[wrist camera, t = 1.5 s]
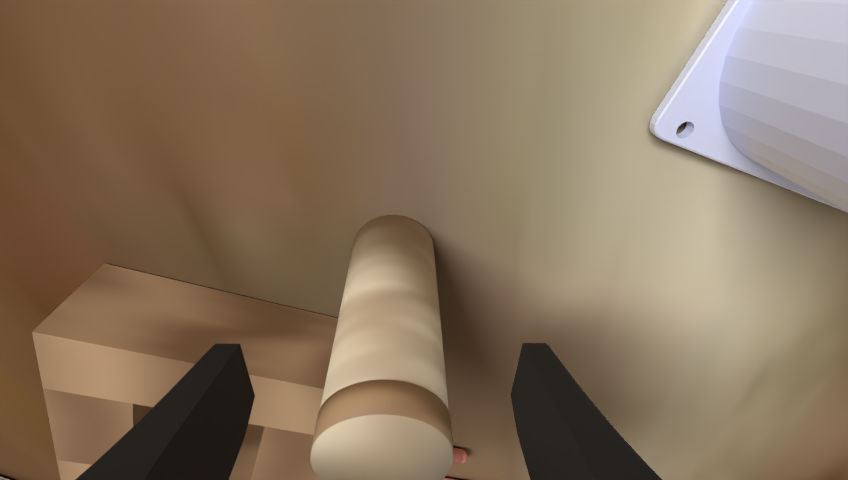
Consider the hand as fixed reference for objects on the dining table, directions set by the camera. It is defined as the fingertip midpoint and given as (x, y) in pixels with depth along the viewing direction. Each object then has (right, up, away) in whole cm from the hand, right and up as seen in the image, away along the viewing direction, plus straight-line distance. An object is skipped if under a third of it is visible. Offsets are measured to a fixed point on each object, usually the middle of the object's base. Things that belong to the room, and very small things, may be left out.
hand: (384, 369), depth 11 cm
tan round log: (0, +3, +5) cm, 6 cm away
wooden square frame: (-8, -3, +8) cm, 12 cm away
